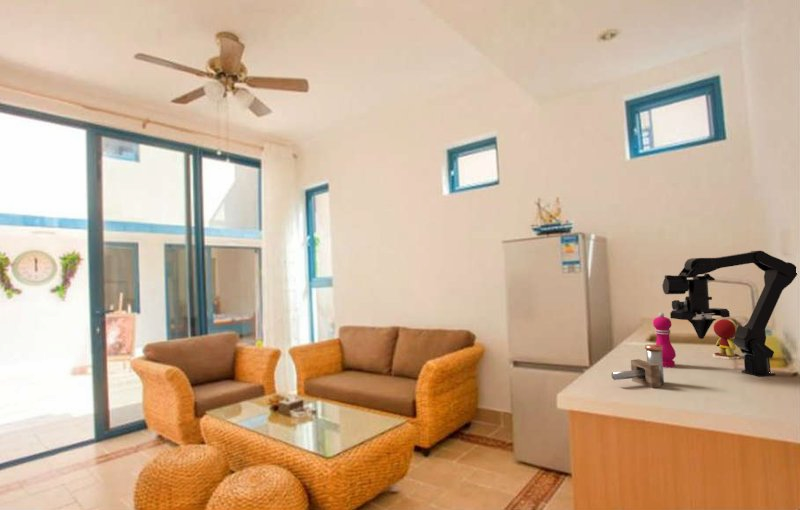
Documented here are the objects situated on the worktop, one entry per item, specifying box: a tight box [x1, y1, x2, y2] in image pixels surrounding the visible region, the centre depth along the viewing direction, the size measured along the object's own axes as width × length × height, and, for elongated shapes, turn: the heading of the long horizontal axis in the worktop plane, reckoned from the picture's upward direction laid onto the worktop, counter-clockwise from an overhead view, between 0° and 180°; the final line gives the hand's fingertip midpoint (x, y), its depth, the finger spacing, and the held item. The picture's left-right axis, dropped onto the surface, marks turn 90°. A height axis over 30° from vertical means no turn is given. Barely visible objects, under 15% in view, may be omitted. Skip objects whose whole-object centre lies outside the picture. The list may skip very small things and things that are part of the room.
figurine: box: [712, 318, 741, 360], centre depth 168 cm, size 9×10×15 cm
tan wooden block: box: [630, 358, 661, 389], centre depth 137 cm, size 3×9×7 cm, turn 8°
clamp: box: [611, 343, 665, 385], centre depth 137 cm, size 18×5×12 cm, turn 98°
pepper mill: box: [652, 312, 677, 368], centre depth 159 cm, size 7×7×20 cm
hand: (701, 338), depth 146 cm, fingers closed
